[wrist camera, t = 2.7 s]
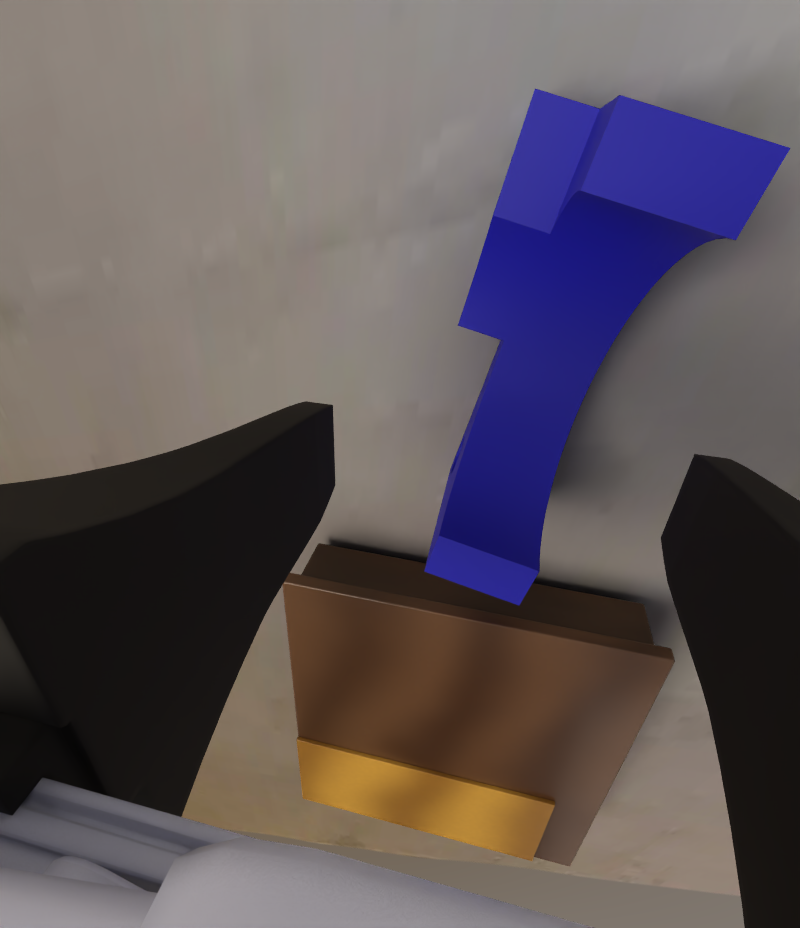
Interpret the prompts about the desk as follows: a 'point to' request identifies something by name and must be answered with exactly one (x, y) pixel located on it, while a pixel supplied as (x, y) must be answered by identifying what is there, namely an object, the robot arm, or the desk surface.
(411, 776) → the walnut stand
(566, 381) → the cable clip
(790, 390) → the desk surface
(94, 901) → the robot arm
